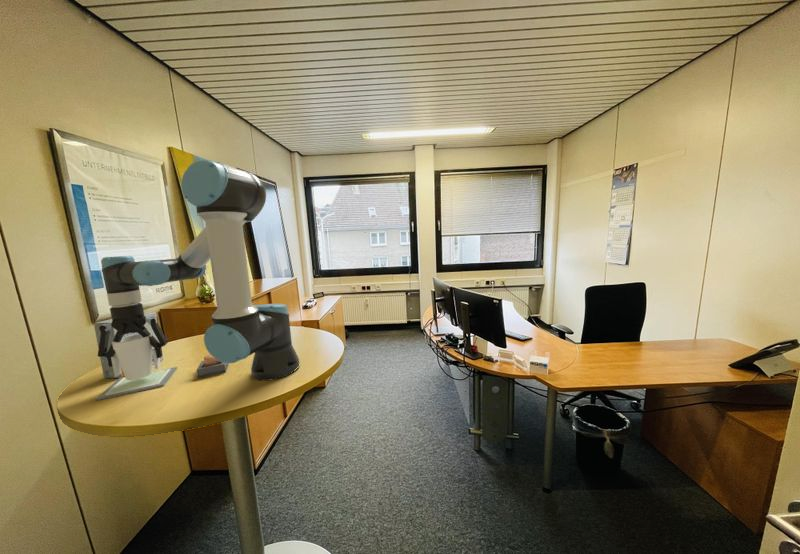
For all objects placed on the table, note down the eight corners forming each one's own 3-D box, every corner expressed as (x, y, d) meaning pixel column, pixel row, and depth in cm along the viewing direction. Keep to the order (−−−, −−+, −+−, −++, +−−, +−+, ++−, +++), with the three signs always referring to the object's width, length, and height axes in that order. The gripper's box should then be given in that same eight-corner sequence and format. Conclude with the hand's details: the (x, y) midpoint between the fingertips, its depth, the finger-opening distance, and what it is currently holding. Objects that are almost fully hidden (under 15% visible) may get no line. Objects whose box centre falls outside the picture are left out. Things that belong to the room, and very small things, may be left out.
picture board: (163, 386, 89) (163, 383, 89) (95, 400, 83) (95, 398, 83) (177, 368, 103) (176, 366, 103) (119, 379, 96) (119, 377, 96)
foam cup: (134, 383, 87) (126, 343, 85) (111, 382, 89) (103, 342, 87) (165, 369, 96) (159, 333, 95) (144, 368, 98) (137, 332, 97)
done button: (219, 364, 97) (218, 356, 97) (203, 368, 96) (202, 359, 95) (221, 360, 102) (220, 352, 101) (206, 363, 100) (205, 355, 99)
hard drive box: (120, 378, 97) (109, 323, 94) (102, 378, 98) (91, 323, 96) (164, 359, 112) (156, 311, 110) (148, 359, 113) (140, 311, 111)
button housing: (225, 372, 97) (224, 364, 97) (197, 378, 94) (196, 369, 93) (228, 363, 104) (227, 356, 104) (202, 369, 101) (201, 361, 100)
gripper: (172, 297, 97) (182, 359, 100) (85, 307, 88) (99, 375, 91) (165, 301, 91) (176, 367, 94) (70, 312, 82) (86, 385, 84)
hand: (138, 371), depth 92 cm, fingers closed on foam cup, 9 cm apart
